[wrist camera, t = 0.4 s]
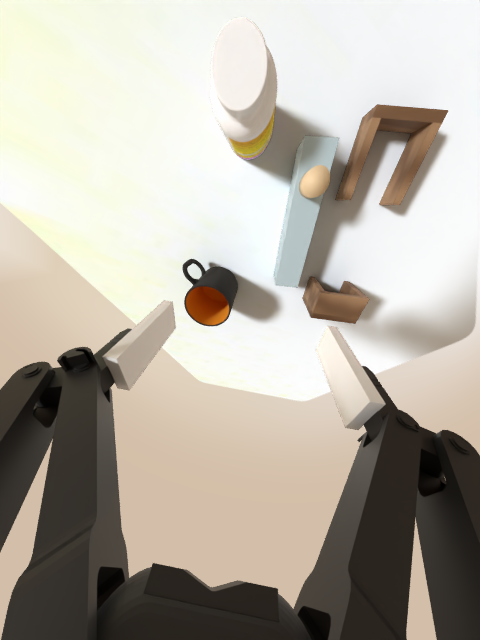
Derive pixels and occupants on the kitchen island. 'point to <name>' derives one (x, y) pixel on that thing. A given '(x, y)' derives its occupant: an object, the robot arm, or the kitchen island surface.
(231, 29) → the supplement bottle
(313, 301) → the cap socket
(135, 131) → the kitchen island surface
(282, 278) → the slat
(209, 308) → the mug
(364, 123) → the brown wooden u-shaped frame
